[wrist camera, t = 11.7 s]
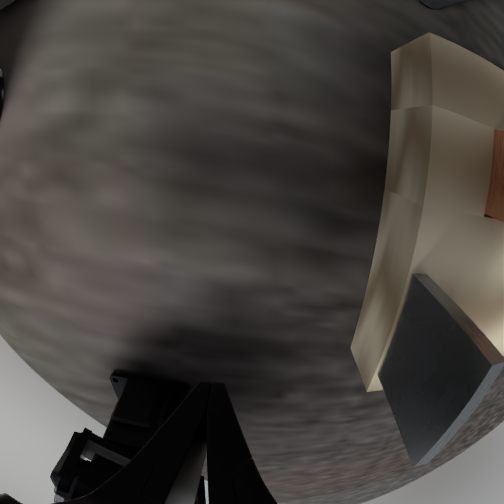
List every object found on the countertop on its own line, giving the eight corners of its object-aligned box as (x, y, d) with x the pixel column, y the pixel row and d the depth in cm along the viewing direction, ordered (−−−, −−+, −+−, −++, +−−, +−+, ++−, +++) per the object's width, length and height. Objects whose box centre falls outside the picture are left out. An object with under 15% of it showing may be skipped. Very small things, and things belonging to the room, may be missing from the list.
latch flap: (427, 462, 8) (412, 467, 8) (390, 373, 13) (377, 374, 13) (506, 360, 5) (492, 365, 5) (426, 274, 11) (412, 274, 11)
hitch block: (475, 334, 18) (499, 363, 14) (350, 347, 18) (366, 391, 14) (524, 112, 11) (562, 116, 7) (390, 52, 11) (429, 32, 7)
